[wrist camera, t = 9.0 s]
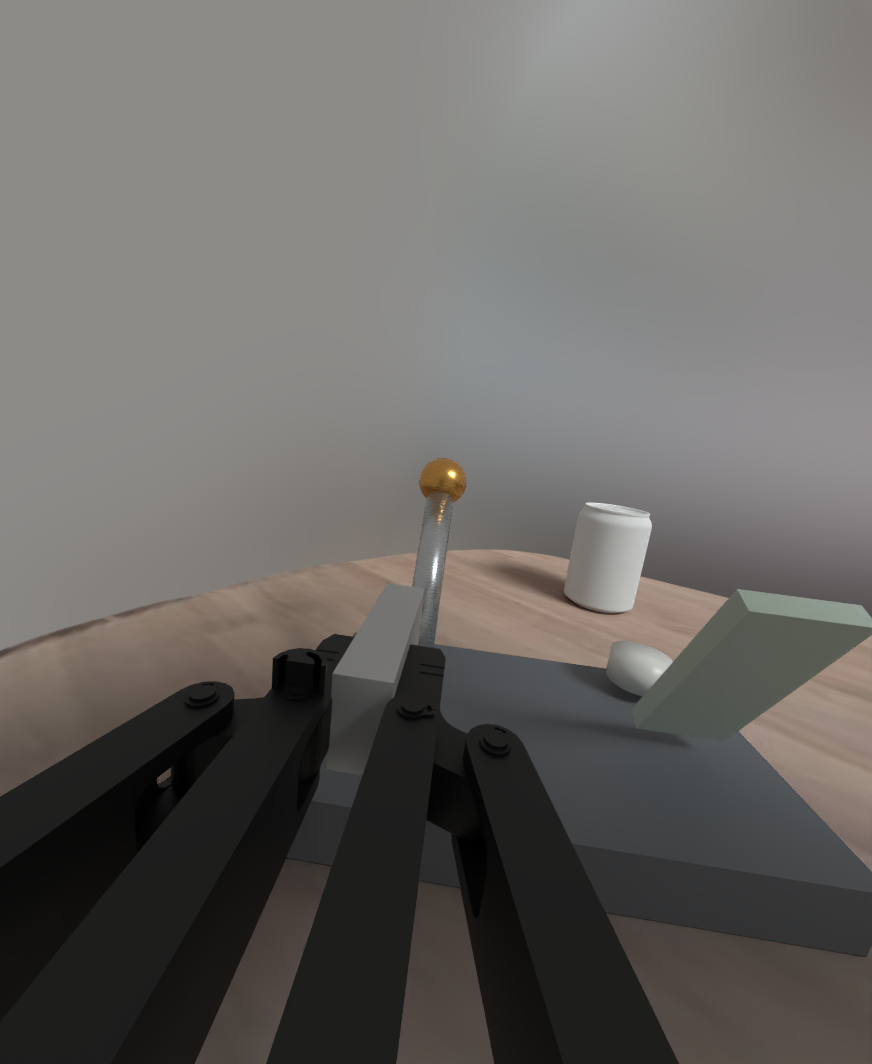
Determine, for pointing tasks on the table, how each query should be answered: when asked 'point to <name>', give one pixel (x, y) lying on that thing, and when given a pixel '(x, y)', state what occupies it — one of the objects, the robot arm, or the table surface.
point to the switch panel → (643, 810)
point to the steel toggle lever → (435, 537)
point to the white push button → (635, 666)
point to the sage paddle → (748, 662)
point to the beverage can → (607, 557)
